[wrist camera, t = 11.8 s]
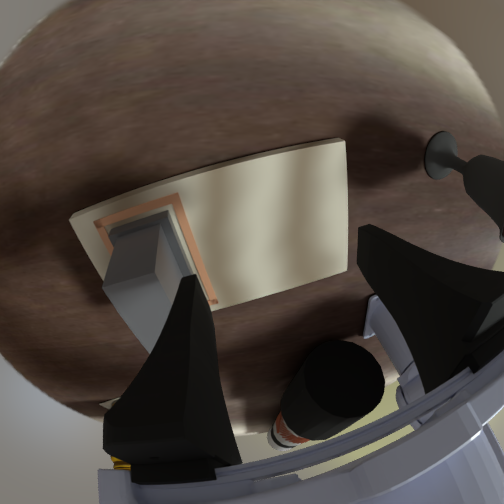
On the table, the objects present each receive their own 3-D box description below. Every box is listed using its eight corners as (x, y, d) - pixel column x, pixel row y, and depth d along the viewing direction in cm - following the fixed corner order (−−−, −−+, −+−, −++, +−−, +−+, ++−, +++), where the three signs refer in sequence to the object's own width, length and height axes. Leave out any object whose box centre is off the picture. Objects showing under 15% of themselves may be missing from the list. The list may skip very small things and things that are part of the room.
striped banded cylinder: (259, 416, 54) (246, 456, 46) (311, 330, 32) (295, 407, 25) (303, 427, 53) (293, 468, 45) (385, 350, 31) (383, 424, 23)
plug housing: (160, 223, 18) (154, 272, 14) (195, 304, 22) (201, 355, 18) (117, 237, 17) (101, 287, 13) (159, 313, 22) (158, 364, 18)
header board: (338, 137, 19) (377, 158, 15) (342, 264, 26) (367, 300, 22) (73, 213, 18) (48, 252, 14) (137, 321, 25) (134, 365, 21)
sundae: (420, 196, 23) (534, 299, 11) (414, 131, 19) (565, 222, 7) (461, 176, 23) (566, 258, 11) (459, 116, 19) (588, 187, 7)
